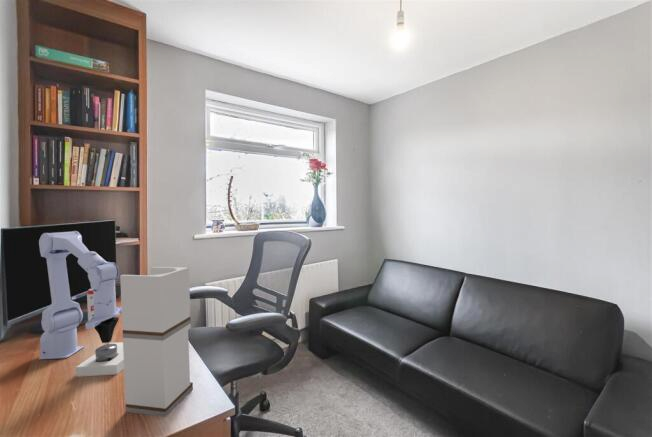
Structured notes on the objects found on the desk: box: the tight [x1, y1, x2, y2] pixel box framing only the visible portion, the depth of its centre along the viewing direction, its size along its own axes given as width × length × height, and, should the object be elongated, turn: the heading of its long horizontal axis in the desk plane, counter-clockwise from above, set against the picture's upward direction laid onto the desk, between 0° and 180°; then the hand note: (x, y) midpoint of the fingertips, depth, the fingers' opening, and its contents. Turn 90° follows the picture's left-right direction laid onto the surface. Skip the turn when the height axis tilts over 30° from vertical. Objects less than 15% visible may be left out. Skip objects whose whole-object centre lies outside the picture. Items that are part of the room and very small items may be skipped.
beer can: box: [86, 287, 94, 322], centre depth 130 cm, size 6×6×16 cm
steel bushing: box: [94, 343, 117, 362], centre depth 93 cm, size 6×6×6 cm
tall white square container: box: [119, 266, 194, 418], centre depth 76 cm, size 11×11×35 cm
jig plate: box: [75, 341, 124, 378], centre depth 96 cm, size 12×16×3 cm
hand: (106, 341), depth 93 cm, fingers closed
